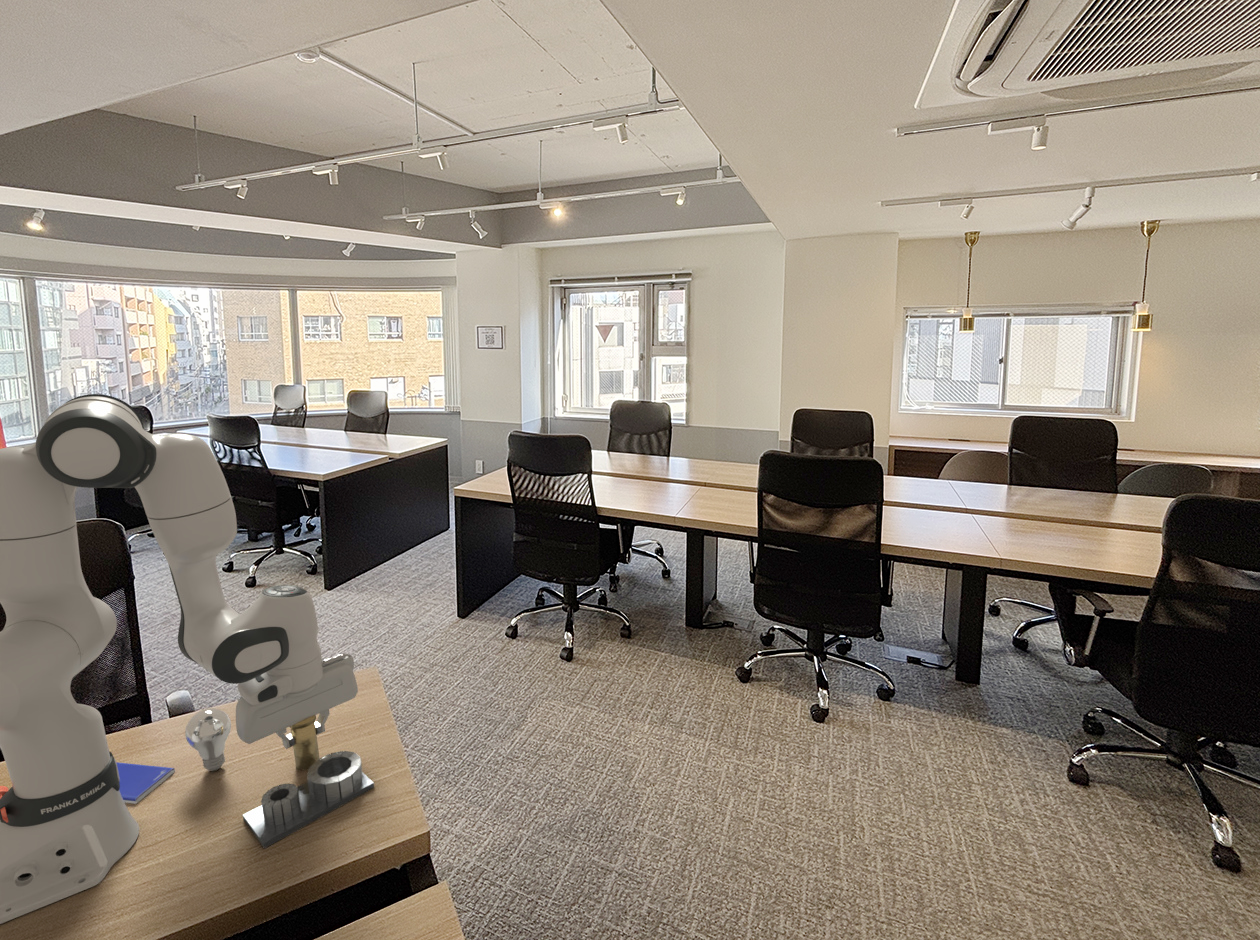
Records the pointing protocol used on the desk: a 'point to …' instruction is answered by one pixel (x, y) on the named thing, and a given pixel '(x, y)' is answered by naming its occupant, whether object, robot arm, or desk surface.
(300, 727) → the brass fitting
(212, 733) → the light bulb
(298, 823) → the manifold plate
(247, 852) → the desk surface
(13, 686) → the robot arm
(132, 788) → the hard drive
